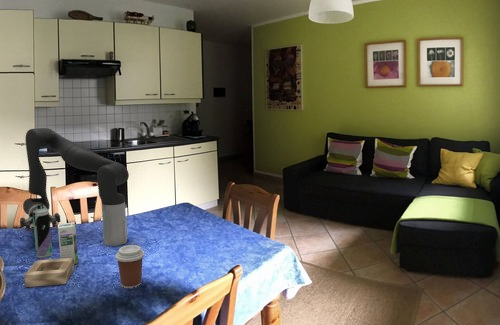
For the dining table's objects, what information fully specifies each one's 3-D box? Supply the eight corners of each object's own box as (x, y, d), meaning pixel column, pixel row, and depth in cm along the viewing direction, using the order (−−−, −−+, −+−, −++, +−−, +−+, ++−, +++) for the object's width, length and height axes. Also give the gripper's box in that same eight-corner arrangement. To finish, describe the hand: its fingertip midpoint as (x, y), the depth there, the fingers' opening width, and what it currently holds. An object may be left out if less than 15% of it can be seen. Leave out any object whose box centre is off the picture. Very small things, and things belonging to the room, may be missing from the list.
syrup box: (61, 266, 140) (58, 228, 138) (60, 260, 146) (57, 223, 143) (78, 263, 143) (75, 225, 141) (77, 258, 148) (74, 221, 146)
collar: (74, 268, 139) (73, 257, 138) (65, 283, 127) (64, 272, 127) (37, 271, 137) (36, 260, 136) (25, 287, 125) (24, 275, 124)
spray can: (45, 258, 148) (41, 207, 144) (33, 257, 149) (28, 206, 145) (55, 253, 153) (51, 203, 150) (43, 251, 154) (39, 202, 151)
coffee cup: (118, 292, 122) (116, 256, 120) (115, 280, 130) (113, 246, 128) (148, 287, 125) (146, 251, 124) (143, 275, 134) (142, 242, 132)
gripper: (18, 208, 161) (19, 218, 148) (56, 203, 169) (61, 213, 155) (20, 225, 163) (21, 237, 149) (58, 220, 170) (62, 231, 156)
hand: (41, 225), depth 152 cm, fingers open, 8 cm apart
